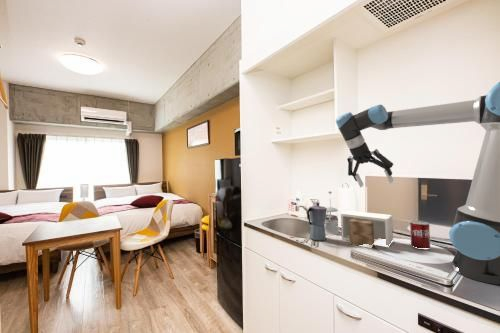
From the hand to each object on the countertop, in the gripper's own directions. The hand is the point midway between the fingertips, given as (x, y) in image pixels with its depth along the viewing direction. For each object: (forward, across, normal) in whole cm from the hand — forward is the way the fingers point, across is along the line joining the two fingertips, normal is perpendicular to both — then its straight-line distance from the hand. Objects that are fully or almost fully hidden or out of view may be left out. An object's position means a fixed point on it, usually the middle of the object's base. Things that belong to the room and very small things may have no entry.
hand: (376, 183), depth 103 cm
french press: (+26, -36, -4) cm, 44 cm away
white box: (+29, -15, -6) cm, 33 cm away
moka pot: (+19, -33, -19) cm, 43 cm away
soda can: (+37, +6, 0) cm, 37 cm away
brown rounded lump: (+26, -14, -14) cm, 32 cm away
